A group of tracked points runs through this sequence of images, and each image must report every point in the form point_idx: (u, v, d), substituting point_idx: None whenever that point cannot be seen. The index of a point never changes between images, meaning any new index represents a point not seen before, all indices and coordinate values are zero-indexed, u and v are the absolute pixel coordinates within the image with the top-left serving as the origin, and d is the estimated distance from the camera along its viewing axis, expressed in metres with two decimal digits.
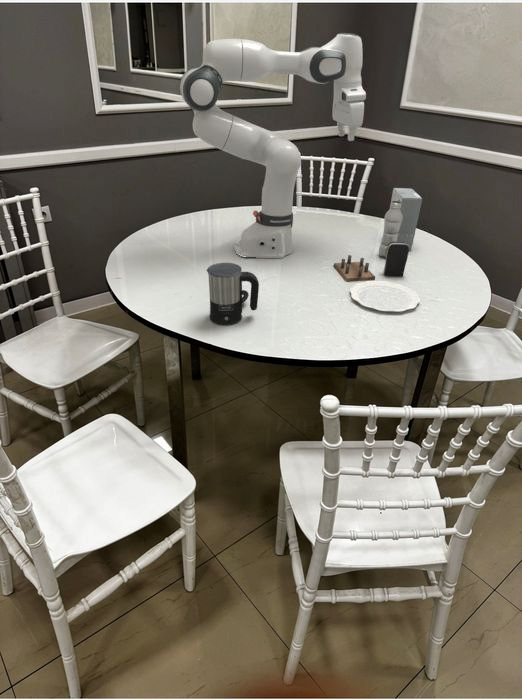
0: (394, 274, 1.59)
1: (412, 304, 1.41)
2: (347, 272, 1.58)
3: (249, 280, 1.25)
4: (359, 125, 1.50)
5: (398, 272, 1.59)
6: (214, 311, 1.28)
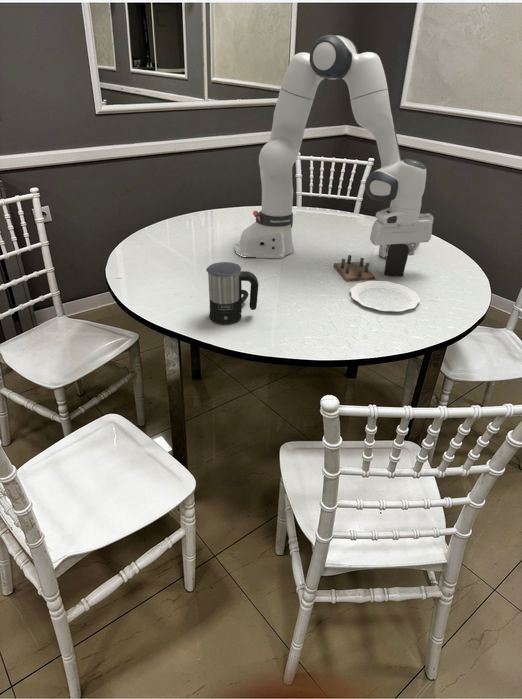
0: (394, 274, 1.59)
1: (412, 304, 1.41)
2: (347, 272, 1.58)
3: (248, 280, 1.26)
4: (373, 243, 1.52)
5: (398, 272, 1.59)
6: (214, 311, 1.28)
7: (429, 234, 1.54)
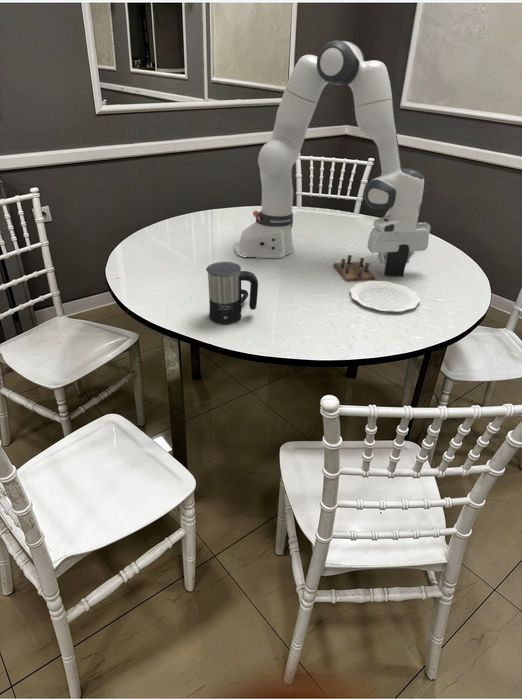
0: (394, 274, 1.59)
1: (412, 304, 1.41)
2: (347, 272, 1.58)
3: (248, 279, 1.26)
4: (370, 250, 1.54)
5: (398, 272, 1.59)
6: (214, 310, 1.28)
7: (426, 243, 1.55)
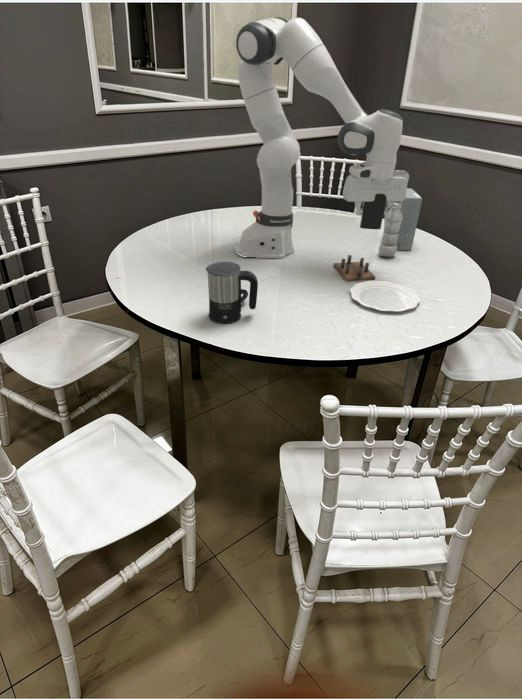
0: (371, 227, 1.51)
1: (412, 304, 1.41)
2: (347, 272, 1.58)
3: (248, 279, 1.26)
4: (345, 199, 1.45)
5: (375, 225, 1.51)
6: (213, 310, 1.28)
7: (404, 193, 1.47)
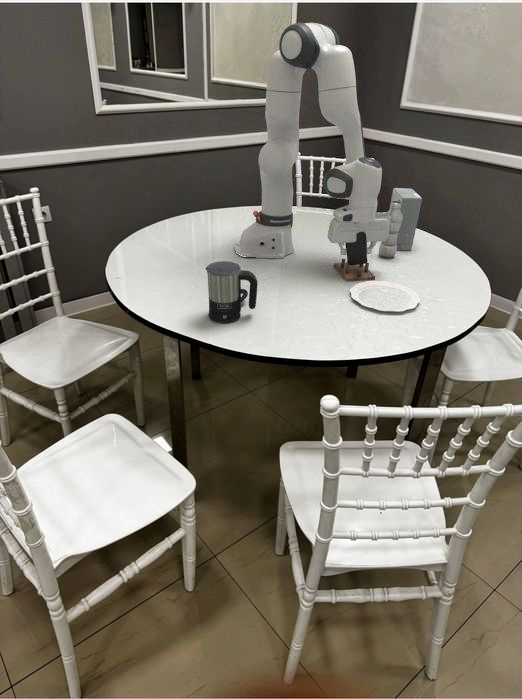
0: (358, 262, 1.57)
1: (412, 304, 1.41)
2: (347, 272, 1.58)
3: (247, 279, 1.26)
4: (330, 241, 1.52)
5: (361, 260, 1.57)
6: (213, 310, 1.29)
7: (386, 233, 1.54)
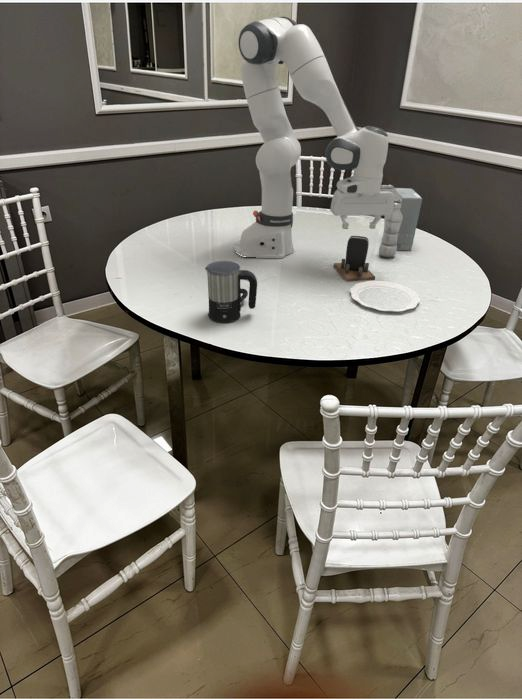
0: (354, 268, 1.59)
1: (412, 304, 1.41)
2: (347, 272, 1.58)
3: (247, 278, 1.26)
4: (333, 213, 1.48)
5: (358, 267, 1.59)
6: (213, 309, 1.29)
7: (391, 207, 1.50)
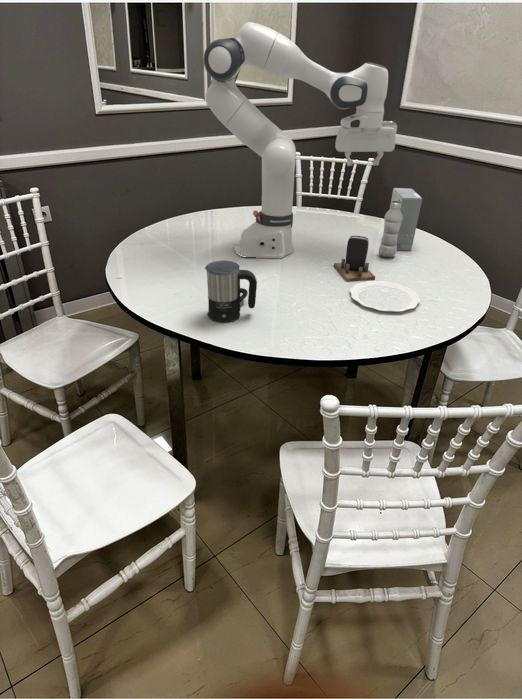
0: (354, 268, 1.59)
1: (412, 304, 1.41)
2: (347, 272, 1.58)
3: (247, 278, 1.26)
4: (338, 150, 1.56)
5: (358, 267, 1.59)
6: (212, 309, 1.29)
7: (393, 142, 1.57)
